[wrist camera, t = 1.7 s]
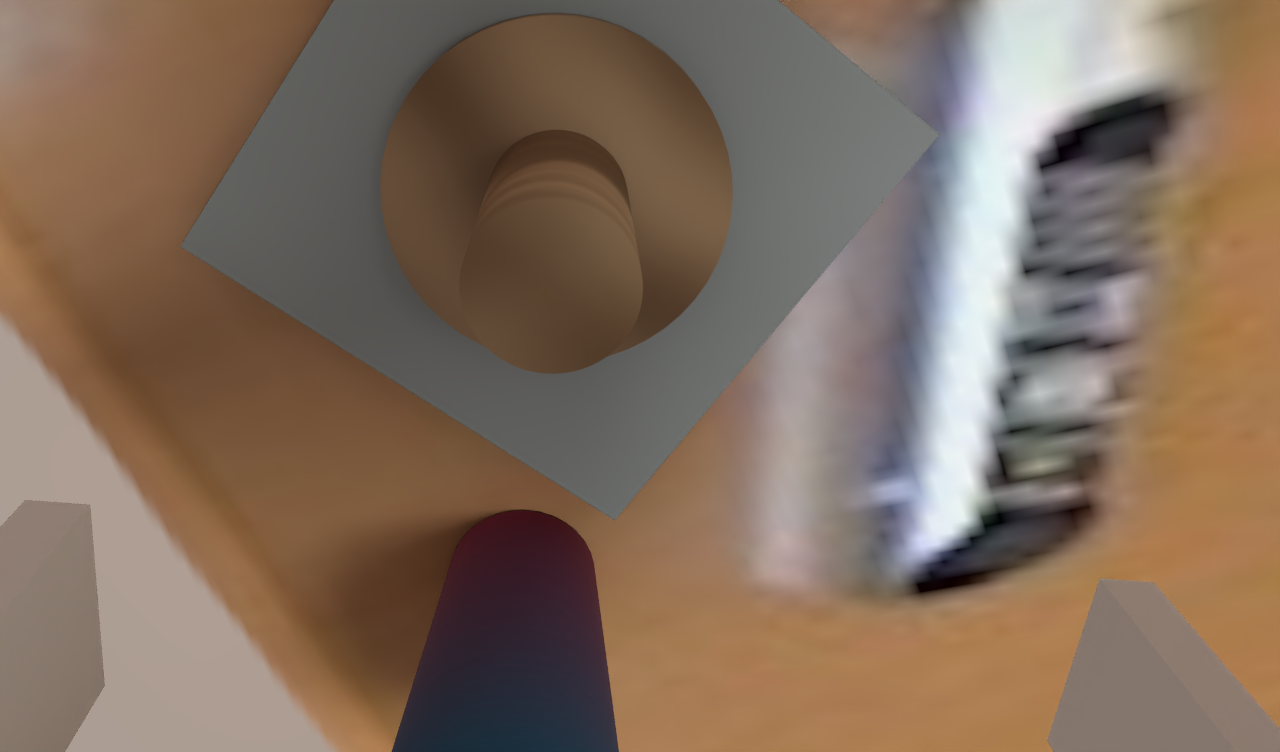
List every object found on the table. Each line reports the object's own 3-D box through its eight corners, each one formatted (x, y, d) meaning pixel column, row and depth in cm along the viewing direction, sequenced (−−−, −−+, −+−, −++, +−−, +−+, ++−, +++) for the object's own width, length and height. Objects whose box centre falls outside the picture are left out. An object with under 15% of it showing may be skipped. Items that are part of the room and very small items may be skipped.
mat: (488, -238, 29) (485, -243, 28) (929, 128, 34) (939, 134, 33) (190, 237, 34) (180, 246, 33) (613, 505, 38) (614, 520, 37)
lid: (515, -66, 30) (490, -55, 21) (796, 155, 33) (872, 242, 24) (322, 225, 33) (232, 336, 24) (595, 406, 35) (600, 562, 27)
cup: (556, 453, 37) (543, 776, 23) (654, 599, 40) (694, 969, 26) (386, 543, 38) (277, 903, 24) (492, 680, 41) (447, 1078, 27)
